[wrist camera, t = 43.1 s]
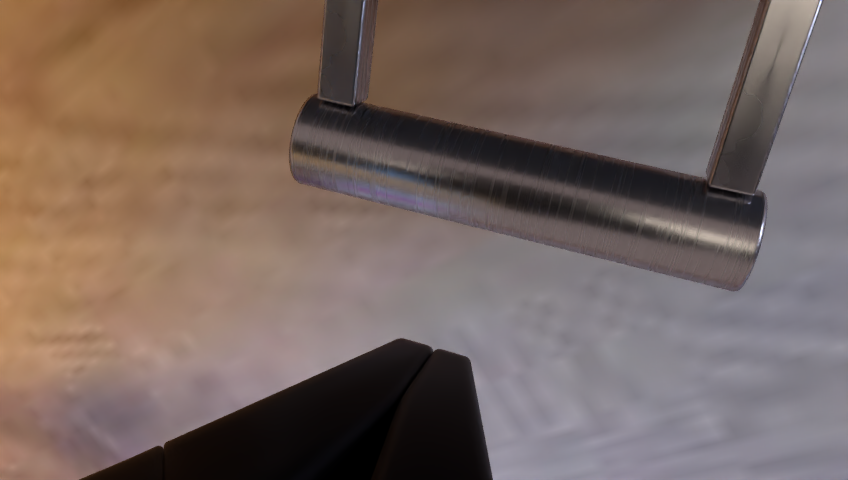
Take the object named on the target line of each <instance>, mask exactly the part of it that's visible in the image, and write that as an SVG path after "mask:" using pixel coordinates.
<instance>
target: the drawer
mask: <svg viewBox="0 0 848 480" xmlns="http://www.w3.org/2000/svg"><path fill="white" fill-rule="evenodd" d="M822 3H823V0H760V2H759V5H758V9H757V12H756V15H755V18H754V21H753V24H752V28H751V31H750V34H749V37H748V40H747V43H746V46H745V50H744V53H743V56H742V59H741V62H740V65H739V69H738V72H737V75H736V78H735V81H734V84H733V87H732V91H731V94H730V97H729V100H728V103H727V106H726V110H725V113H724V116H723V119H722V122H721V125H720V128H719V132H718V135H717V138H716V141H715V144H714V147H713V151H712V154H711V157H710V160H709V163H708V166H707V169H706V175H707V178H702V177H697V176H693V175H688V174H684V173H679V172H675V171H670V170H666V169H661V168H657V167H652V166H648V165H643V164H639V163H634V162H630V161H625V160H621V159H616V158H612V157H607V156H602V155H598V154H593V153H589V152H584V151H580V150H575V149H571V148H566V147H562V146H557V145H553V144H548V143H544V142H539V141H535V140H530V139H526V138H521V137H516V136H512V135H507V134H503V133H498V132H494V131H489V130H485V129H480V128H476V127H471V126H467V125H462V124H458V123H453V122H449V121H444V120H440V119H435V118H431V117H426V116H421V115H417V114H412V113H408V112H403V111H399V110H394V109H390V108H385V107H381V106H376V105H372V104H367V103H363V101H365V100H366V99H367V98H368V92H369V82H370V73H371V64H372V54H373V45H374V36H375V27H376V17H377V8H378V0H325V4H324V17H323V30H322V42H321V55H320V68H319V81H318V93H317V94H313V95H311V96H310V97H309V98H308V99H307V100H306V101H305V102H304V104H303V105H302V107H301V109H300V111H299V113H298V115H297V118H296V121H295V124H294V127H293V131H292V135H291V141H290V149H289V163H290V170H291V173H292V176H293V178H294V179H295V180H296V181H297V182H299V183H300V184H304V185H308V186H312V187H316V188H320V189H324V190H328V191H332V192H336V193H340V194H344V195H348V196H352V197H356V198H360V199H364V200H368V201H372V202H376V203H380V204H384V205H388V206H392V207H396V208H400V209H404V210H408V211H412V212H416V213H420V214H424V215H428V216H432V217H436V218H440V219H444V220H448V221H452V222H456V223H460V224H464V225H468V226H472V227H476V228H480V229H484V230H488V231H492V232H496V233H500V234H504V235H508V236H512V237H516V238H520V239H524V240H528V241H532V242H536V243H540V244H544V245H548V246H552V247H556V248H561V249H565V250H569V251H573V252H577V253H581V254H585V255H589V256H593V257H597V258H601V259H605V260H609V261H613V262H617V263H621V264H625V265H629V266H633V267H637V268H641V269H645V270H649V271H653V272H657V273H661V274H665V275H669V276H673V277H677V278H681V279H685V280H689V281H693V282H697V283H701V284H705V285H709V286H713V287H717V288H721V289H725V290H729V291H738V290H740V289H741V288H742V287H743V285H744V284H745V283H746V281H747V279H748V278H749V276H750V274H751V271H752V269H753V267H754V264H755V262H756V259H757V256H758V253H759V250H760V246H761V243H762V239H763V235H764V230H765V225H766V219H767V197H766V194H765V193H764V192H762V191H761V190H757V187H758V185H759V182H760V179H761V176H762V173H763V170H764V168H765V165H766V162H767V159H768V156H769V153H770V150H771V148H772V145H773V142H774V139H775V136H776V133H777V131H778V128H779V125H780V122H781V119H782V116H783V114H784V111H785V108H786V105H787V102H788V99H789V96H790V94H791V91H792V88H793V85H794V82H795V79H796V77H797V74H798V71H799V68H800V65H801V62H802V60H803V57H804V54H805V51H806V48H807V45H808V42H809V40H810V37H811V34H812V31H813V28H814V25H815V23H816V20H817V17H818V14H819V11H820V8H821V6H822Z"/></svg>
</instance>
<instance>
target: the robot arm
mask: <svg viewBox="0 0 848 480" xmlns="http://www.w3.org/2000/svg"><path fill="white" fill-rule="evenodd" d="M79 480H493V478H492V473H491V467H490V462H489V457H488V451H487V446H486V441H485V436H484V430H483V425H482V420H481V414H480V409H479V404H478V398H477V393H476V388H475V382H474V377H473V372H472V367H471V362H470V360H469V358H468V357H466V356H463V355H460V354H456V353H452V352H449V351H445V350H442V349H437V350H435V351H434V352H433V349H432V348H431V347H430V346H428V345H425V344H421V343H418V342H414V341H411V340H407V339H403V338H400V339H396V340H394V341H392V342H389V343H387V344H385V345H383V346H381V347H378V348H376V349H374V350H372V351H369V352H367V353H365V354H363V355H360V356H358V357H356V358H354V359H351V360H349V361H347V362H345V363H343V364H340V365H338V366H336V367H334V368H331V369H329V370H327V371H325V372H322V373H320V374H318V375H316V376H313V377H311V378H309V379H307V380H304V381H302V382H300V383H298V384H296V385H293V386H291V387H289V388H287V389H284V390H282V391H280V392H278V393H275V394H273V395H271V396H269V397H266V398H264V399H262V400H260V401H257V402H255V403H253V404H251V405H249V406H246V407H244V408H242V409H240V410H237V411H235V412H233V413H231V414H228V415H226V416H224V417H222V418H219V419H217V420H215V421H213V422H211V423H208V424H206V425H204V426H202V427H199V428H197V429H195V430H193V431H190V432H188V433H186V434H184V435H181V436H179V437H177V438H175V439H172V440H170V441H168V442H166V443H165V444H164V450H163V447H161V446H156V447H154V448H152V449H149V450H147V451H145V452H143V453H141V454H138V455H136V456H134V457H132V458H129V459H127V460H125V461H122V462H120V463H118V464H115V465H113V466H110V467H108V468H106V469H103V470H101V471H99V472H96V473H94V474H91V475H89V476H87V477H84V478H82V479H79Z"/></svg>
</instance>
